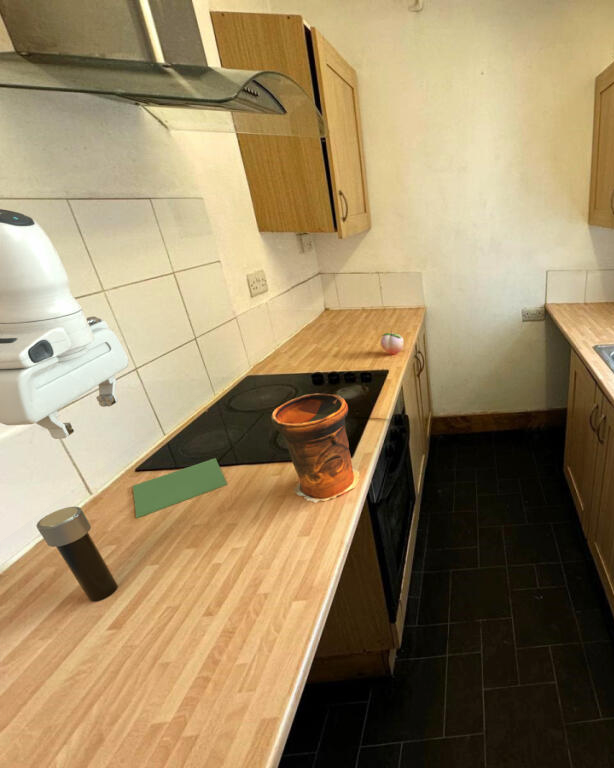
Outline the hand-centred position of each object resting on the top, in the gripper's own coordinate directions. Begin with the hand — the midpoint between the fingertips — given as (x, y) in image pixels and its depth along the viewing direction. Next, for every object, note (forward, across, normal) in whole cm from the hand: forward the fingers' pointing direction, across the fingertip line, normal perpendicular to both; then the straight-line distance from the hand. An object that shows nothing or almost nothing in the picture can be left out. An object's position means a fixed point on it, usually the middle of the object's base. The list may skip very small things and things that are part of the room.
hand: (88, 419), depth 64 cm
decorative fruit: (+31, -101, +34) cm, 111 cm away
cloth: (+30, -21, -6) cm, 37 cm away
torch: (+28, +8, -3) cm, 30 cm away
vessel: (+28, -15, +28) cm, 42 cm away
